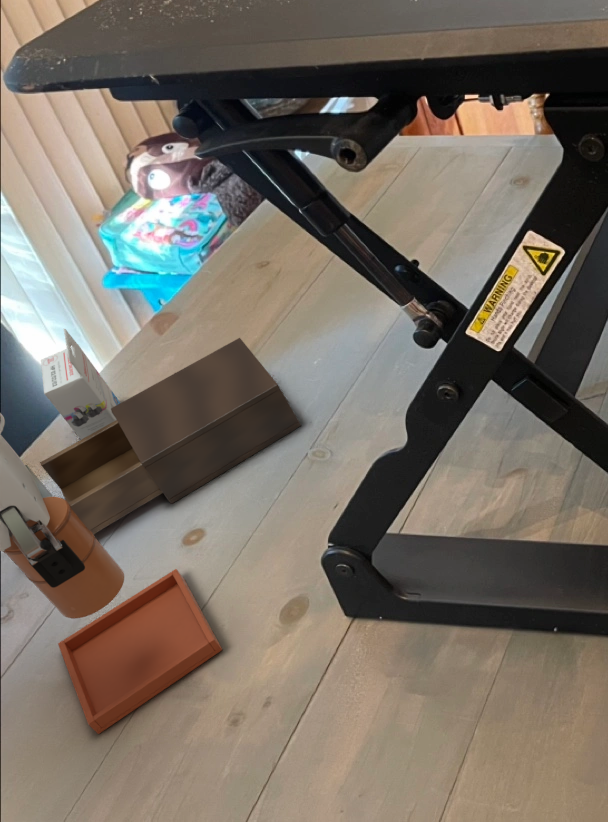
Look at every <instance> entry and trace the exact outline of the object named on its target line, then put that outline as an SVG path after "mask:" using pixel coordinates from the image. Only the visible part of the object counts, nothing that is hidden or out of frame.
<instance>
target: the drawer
mask: <svg viewBox="0 0 608 822" xmlns="http://www.w3.org/2000/svg"><path fill="white" fill-rule="evenodd" d="M39 464H40V466H41V467H42V468H43V470H44V471H45V472H46V473H47V474H48V476H49V477H50V478H51V480H52V481H53V482H54V483H55V484H56V486H57V487H58V488H59V490H60V491H61V493H62V495H63V497H64V498H63V499H65V500H66V501H67V502H68V503H69V504H70V506H71V509H72V510H73V511H74V512H75V513H76V515H77V516H78V517H79V518H80V519H81V521H82V522H83V523H84V524H85V525H86V527H87V528H88V529H89V530H90V531H91V532H92V533H93V534H94V535H95V534H96V533H99V532H100V531H102V530H103V529H105V528H107V527H108V526H110V525H112V524H113V523H115V522H117V521H118V520H120V519H122V518H123V517H125V516H127V515H128V514H130V513H132V512H134V511H135V510H137V509H138V508H140V507H141V506H142V507H143V506H144V505H145V504H147V503H149V502H150V501H152V500H154V499H155V498H157V497H158V496H160V495H162V494H163V492H162V491H161V490H160V488H159V487H158V486H157V484H156V483H155V481H154V480H153V479H152V477H151V476H150V475H149V473H148V472H147V471H146V469H145V468H144V467H143V465H142V464H141V462H140V460H139V459H138V457H137V455H136V453H135V451H134V450H133V448H132V446H131V444H130V443H129V441H128V439H127V437H126V435H125V434H124V432H123V430H122V428H121V427H120V425H119V423H118V421H117V420H116V421H114V422H112V423H110V424H108V425H107V426H105V427H103V428H101V429H99V430H98V431H96V432H94V433H92V434H90V435H89V436H87V437H85V438H83V439H80V440H78V441H76V442H74V443H73V444H71V445H69V446H67V447H65V448H63V449H62V450H60V451H57V452H55V454H52V455H51V456H49V457H47V458H46V459H43V460H42V461H40V462H39ZM25 466H26V467H27V468H28V470H29V471H30V473H31V475H32V476H33V478H34V480H35V482H36V485H37V487H38V489H39V491H40V494H41V496H42V498H45V497H54V496H53V494H52V492H50V490H49V489H48V487H46V486H45V484H43V482H42V481H41V479H39V477H38V476H37V475H36V474H35V472H34V471H33V470H32V468H30V467H29V465H28V464H25Z"/></svg>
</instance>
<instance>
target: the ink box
mask: <svg viewBox="0 0 608 822" xmlns="http://www.w3.org/2000/svg"><path fill="white" fill-rule="evenodd" d="M62 330H63V333H64V340H65V347H66V349H63V350H61V351H58V352H56V353H54V354H52V355H48V356H47V357H44V358H42V359H41V360H40V364H41V366H40V367H41V377H42V385H43V394H44V396H45V397H46V398H47V399H48V401H50V403H51V404H52V405H53V407H54V408H55V409H56V410H57V411H58V413H59V414H60V416H61V417H62V418H63V419H64V421H65V422H66V423H67V424H68V426H69V427H70V429H72V430H73V432H74V433H75V434H76V435H77V437H78V439H80V440H81V439H83V438H85V437H87V436H89V435H90V434H92V433H94V432H96V431H98V430H99V429H101V428H103V427H105V426H107V425H108V424H110V423H112V422H114V421H116V420H117V419H116V418H115V416H114V414H113V412H112V411H111V408H113V407H114V406H116V405H118V404H120V403H121V401H119V399H118V397H117V396H116V394H115V393H114V392H113V391H112V388H110V386H109V385H108V384H107V382H106V380H105V379H104V378H103V377H102V376H101V374H100V373H99V371H98V369H96V367H95V366H94V364H93V363H92V362H91V360H90V359H89V357H88V356H87V354H86V353H85V352H84V351H83V349H82V348H81V346H80V344H78V343H77V341H76V340H75V339H74V338H73V336H72V335H71V334H70V332H69V331H68V330H67V329H66V328H63V329H62Z"/></svg>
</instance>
